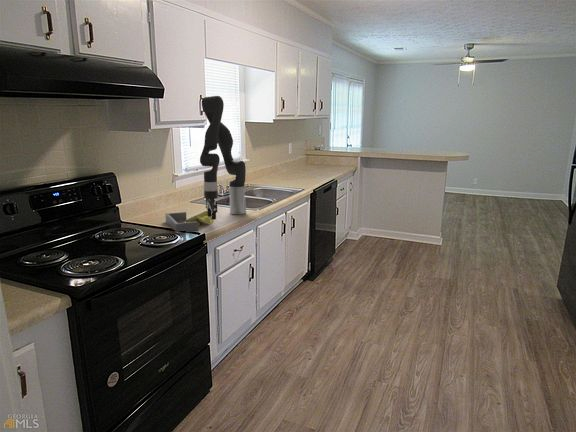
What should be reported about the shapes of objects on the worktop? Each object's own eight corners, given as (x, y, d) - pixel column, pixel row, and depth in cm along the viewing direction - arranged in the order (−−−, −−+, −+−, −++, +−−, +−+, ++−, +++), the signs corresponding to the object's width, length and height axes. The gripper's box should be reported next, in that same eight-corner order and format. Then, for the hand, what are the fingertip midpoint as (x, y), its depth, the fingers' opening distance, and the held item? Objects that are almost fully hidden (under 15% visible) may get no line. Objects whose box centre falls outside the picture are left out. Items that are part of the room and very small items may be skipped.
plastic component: (193, 216, 240) (208, 209, 239) (199, 227, 241) (214, 221, 239) (182, 221, 221) (198, 214, 219) (188, 234, 221) (204, 226, 220)
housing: (185, 220, 240) (185, 211, 239) (198, 231, 216) (197, 222, 215) (165, 222, 235) (165, 213, 234) (176, 233, 211) (175, 224, 210)
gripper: (221, 191, 224) (222, 220, 228) (213, 187, 237) (214, 214, 240) (207, 191, 221) (208, 221, 224) (200, 188, 233) (201, 216, 237)
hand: (211, 217), depth 232 cm, fingers open, 8 cm apart
